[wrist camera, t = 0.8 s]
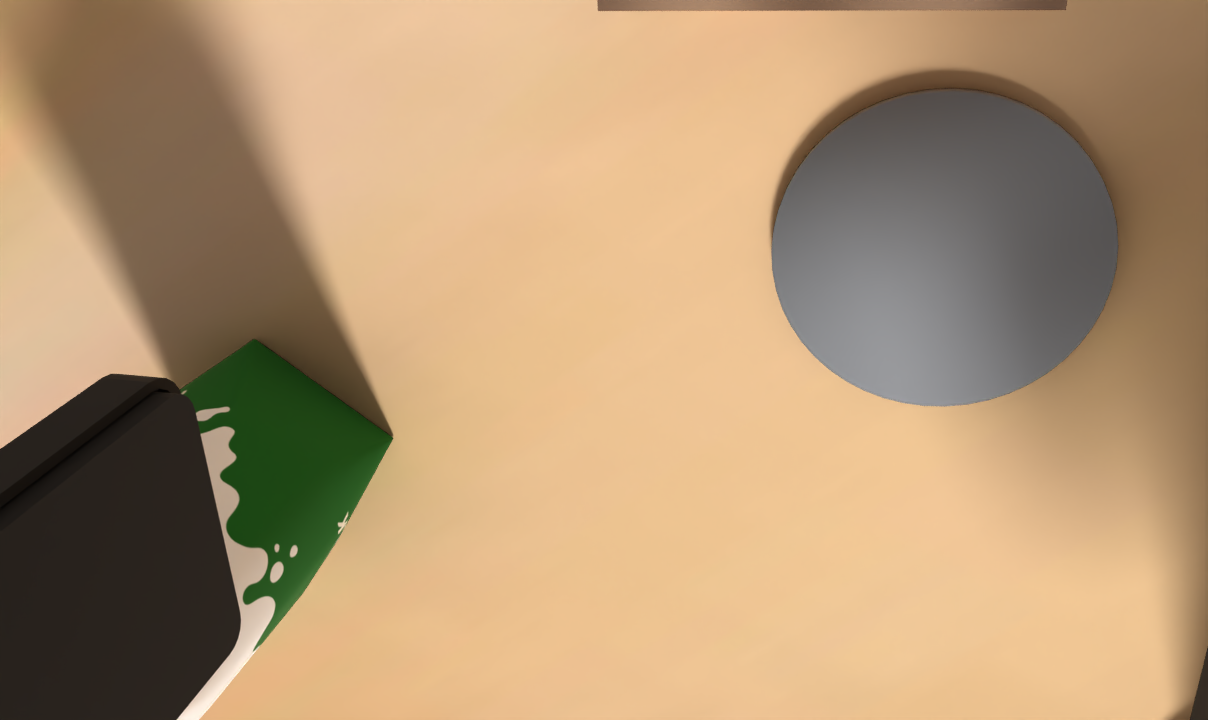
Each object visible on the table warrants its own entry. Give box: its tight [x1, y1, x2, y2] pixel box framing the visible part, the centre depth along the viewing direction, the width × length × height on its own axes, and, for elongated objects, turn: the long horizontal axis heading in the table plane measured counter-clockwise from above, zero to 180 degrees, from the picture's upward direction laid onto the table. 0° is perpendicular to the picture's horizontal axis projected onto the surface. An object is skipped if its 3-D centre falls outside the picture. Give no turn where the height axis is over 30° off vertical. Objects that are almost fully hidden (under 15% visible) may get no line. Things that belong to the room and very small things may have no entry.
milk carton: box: [177, 339, 393, 720], centre depth 40 cm, size 9×9×20 cm
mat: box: [772, 88, 1118, 406], centre depth 38 cm, size 11×11×1 cm
